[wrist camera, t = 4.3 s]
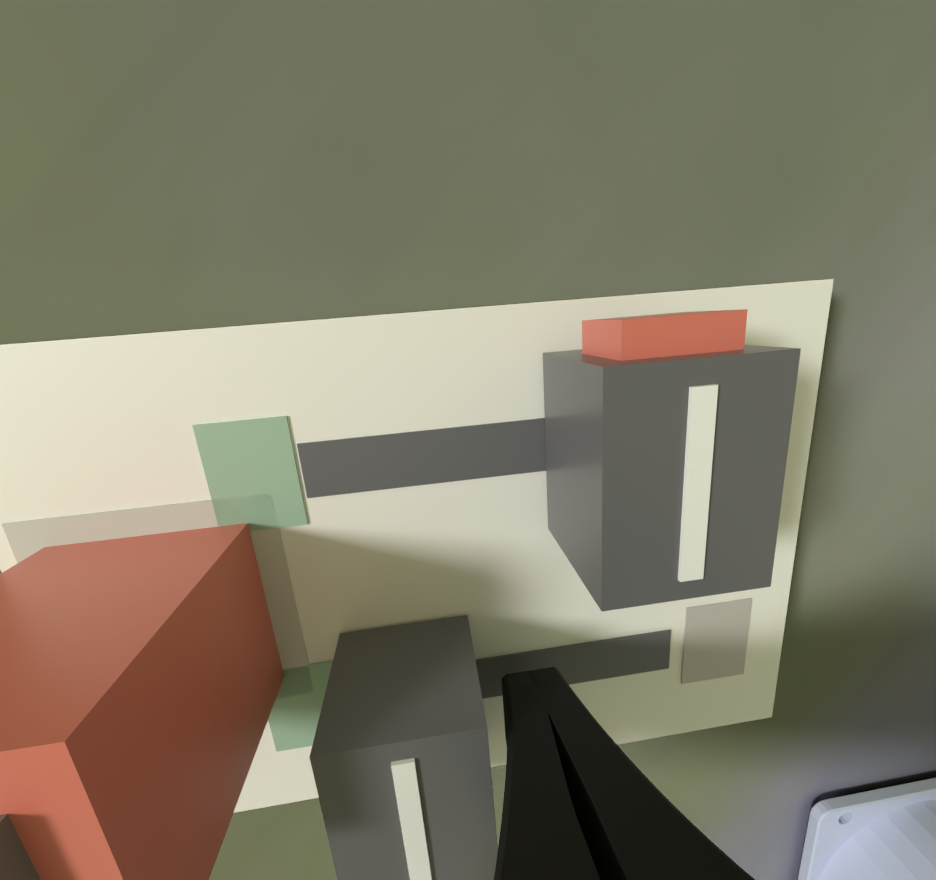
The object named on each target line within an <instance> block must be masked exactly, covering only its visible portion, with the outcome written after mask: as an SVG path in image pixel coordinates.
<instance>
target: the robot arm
mask: <svg viewBox="0 0 936 880" xmlns="http://www.w3.org/2000/svg"><path fill="white" fill-rule="evenodd" d="M501 680H502V694H503V708H504V722H505V737H506V744H507V765H506V780H505V791H504V803H503V814H502V823H501V831H500V839H499V847H498V854H497V861H496V868H495V875H494V880H755V879H754V878H752V877H751V876H750V875H749V874H748V873H746V872H745V871H744V870H743V869H742V868H740V867H739V866H738V865H737V864H736V863H735V862H734V861H733V860H732V859H730V858H729V857H728V856H727V855H726V854H725V853H724V852H723V851H721V850H720V849H719V848H718V847H717V846H716V845H715V844H714V843H713V842H711V841H710V840H709V839H708V838H707V837H706V836H705V835H704V834H703V833H702V832H701V831H700V830H699V829H698V828H697V827H695V826H694V825H693V824H692V823H691V822H690V821H689V820H688V819H687V818H686V817H685V816H684V815H683V814H682V813H681V812H680V811H679V810H678V809H677V808H676V807H675V806H674V805H673V804H672V803H671V802H670V801H669V800H668V799H667V798H666V797H665V796H664V795H663V794H662V793H661V792H660V791H659V790H658V789H657V788H656V787H655V786H654V785H653V784H652V783H651V782H650V781H649V780H648V778H647V777H646V776H645V775H644V774H643V773H642V772H641V771H640V770H639V769H638V768H637V767H636V766H635V765H634V763H633V762H632V761H631V760H630V759H629V758H628V757H627V756H626V755H625V754H624V752H623V751H622V750H621V749H620V748H619V747H618V745H617V744H616V743H615V742H614V741H613V740H612V738H611V737H610V736H609V735H608V734H607V733H606V731H605V730H604V729H603V728H602V727H601V726H600V724H599V723H598V722H597V721H596V719H595V718H594V717H593V716H592V714H591V713H590V712H589V711H588V709H587V708H586V707H585V706H584V704H583V703H582V702H581V701H580V699H579V698H578V697H577V695H576V694H575V693H574V691H573V690H572V689H571V687H570V686H569V684H568V683H567V682H566V680H565V679H564V678H563V676H562V675H561V673H560V672H559V670H558V669H556V668H555V667H548V668H542V669H536V670H530V671H523V672H517V673H511V674H506V675H505V676H504V677H503V678H502V679H501ZM798 880H936V777H935V778H930V779H925V780H920V781H915V782H910V783H905V784H900V785H895V786H890V787H885V788H880V789H875V790H870V791H865V792H860V793H855V794H850V795H845V796H840V797H834V798H829V799H824V800H821V801H819V802H817V803H816V804H815V805H814V806H813V807H812V808H811V811H810V816H809V821H808V827H807V832H806V838H805V843H804V848H803V854H802V859H801V865H800V870H799V875H798Z"/></svg>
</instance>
